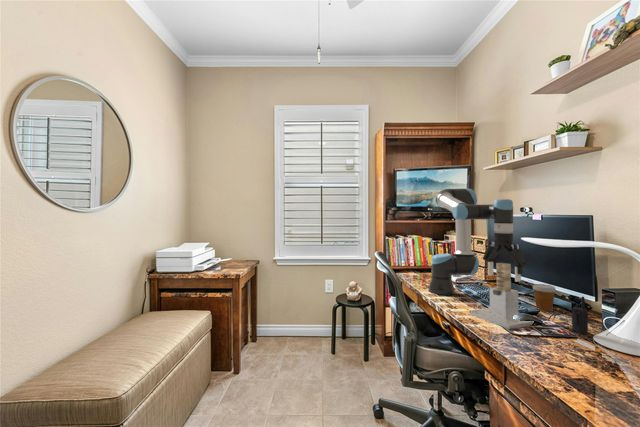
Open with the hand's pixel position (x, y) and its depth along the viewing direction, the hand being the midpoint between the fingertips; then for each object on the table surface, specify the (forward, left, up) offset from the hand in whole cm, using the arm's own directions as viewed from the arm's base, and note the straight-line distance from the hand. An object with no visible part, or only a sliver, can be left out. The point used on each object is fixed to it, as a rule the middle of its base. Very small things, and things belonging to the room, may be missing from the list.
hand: (503, 278), depth 135 cm
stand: (0, 0, -19) cm, 19 cm away
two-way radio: (+22, +14, -19) cm, 32 cm away
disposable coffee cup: (-2, +31, -19) cm, 36 cm away
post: (0, 0, -17) cm, 17 cm away
